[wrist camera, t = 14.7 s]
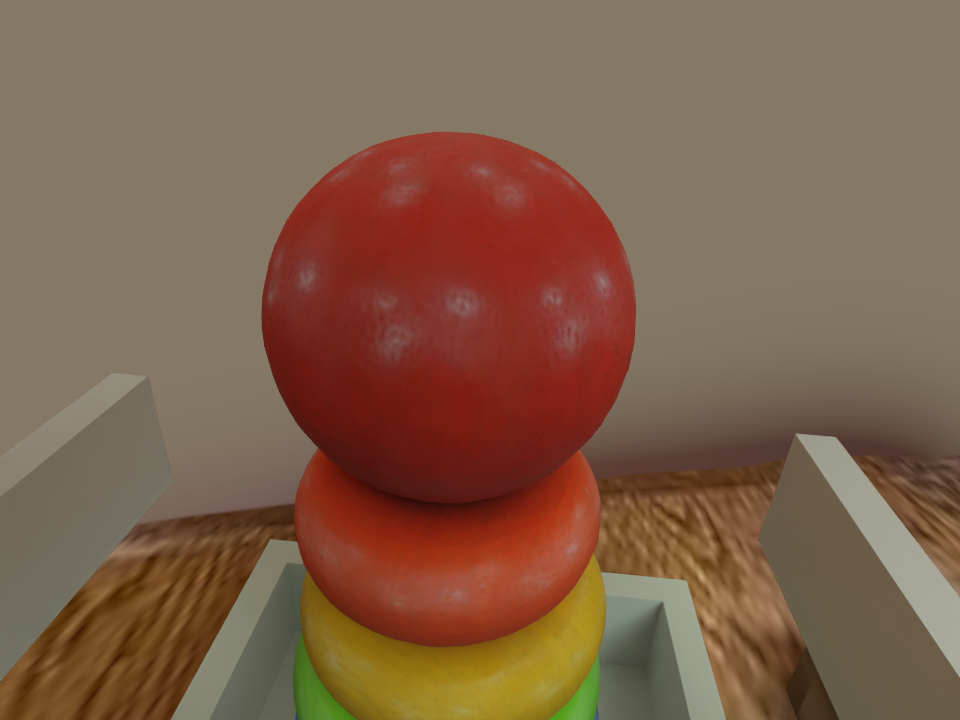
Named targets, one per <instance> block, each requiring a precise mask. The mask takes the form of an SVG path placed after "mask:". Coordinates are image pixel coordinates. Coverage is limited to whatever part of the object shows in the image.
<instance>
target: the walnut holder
mask: <svg viewBox="0 0 960 720" xmlns="http://www.w3.org/2000/svg"><path fill="white" fill-rule="evenodd" d="M787 692H788V694H789V697H790V699H791V702H792V705H793V707H794V710H795V712H796V715H797V717H798V720H839V718H838V716H837V713H836V711H835V709H834V707H833V704H832V702H831V700H830V698H829V696H828V693H827V691H826V689H825V687H824V684H823V682H822V680H821V678H820V676H819V673H818V671H817V669H816V667H815V664H814V662H813V660H812V658H811V656H810V653H809V651H808V649H807V647H805V649H804V651H803V653H802V656H801V658H800V660H799V662H798V665H797V667H796V669H795V671H794V673H793V676H792V678H791V680H790V682H789V685H788V687H787Z"/></svg>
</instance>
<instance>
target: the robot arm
mask: <svg viewBox="0 0 960 720" xmlns="http://www.w3.org/2000/svg"><path fill="white" fill-rule="evenodd" d="M172 482H173V478H172V474H171V470H170V466H169V462H168V458H167V453H166V449H165V445H164V441H163V437H162V432H161V428H160V424H159V420H158V415H157V412H156V407H155V403H154V399H153V395H152V390H151V387H150V382H149V378H148V376H140V375H129V374H117V373H112V374H111V375H110V376H108V377H107V378H105V379H104V380H103V381H102V382H100V383H99V384H97V385H96V386H95V387H93V388H92V389H91V390H89V391H88V392H87V393H85V394H84V395H83V396H81V397H80V398H79V399H77V400H76V401H75V402H73V403H72V404H71V405H69V406H68V407H67V408H65V409H64V410H62V411H61V412H60V413H58V414H57V415H56V416H54V417H53V418H52V419H50V420H49V421H47V422H46V423H45V424H43V425H42V426H41V427H40V428H38V429H37V430H35V431H34V432H33V433H32V434H30V435H29V436H27V437H26V438H25V439H23V440H22V441H21V442H19V443H18V444H16V445H15V446H14V447H12V448H11V449H10V450H8V451H7V452H6V453H5V454H3V455H2V456H0V681H1V680H2V679H3V678H4V677H5V675H6V674H7V673H8V672H9V671H10V670H11V668H12V667H13V666H14V665H15V664H16V663H17V662H18V660H19V659H20V658H21V657H22V656H23V655H24V653H25V652H26V651H27V650H28V649H29V648H30V647H31V645H32V644H33V643H34V642H35V641H36V640H37V638H38V637H39V636H40V635H41V634H42V633H43V631H44V630H45V629H46V628H47V627H48V626H49V625H50V623H51V622H52V621H53V620H54V619H55V618H56V616H57V615H58V614H59V613H60V612H61V611H62V609H63V608H64V607H65V606H66V605H67V604H68V603H69V601H70V600H71V599H72V598H73V597H74V596H75V594H76V593H77V592H78V591H79V590H80V589H81V587H82V586H83V585H84V584H85V583H86V582H87V581H88V579H89V578H90V577H91V576H92V575H93V574H94V572H95V571H96V570H97V569H98V568H99V567H100V566H101V564H102V563H103V562H104V561H105V560H106V559H107V557H108V556H109V555H110V554H111V553H112V552H113V550H114V549H115V548H116V547H117V546H118V545H119V544H120V542H121V541H122V540H123V539H124V538H125V537H126V535H127V534H128V533H129V532H130V531H131V530H132V528H133V527H134V526H135V525H136V524H137V523H138V522H139V520H140V519H141V518H142V517H143V516H144V515H145V513H146V512H147V511H148V510H149V508H151V506H152V505H153V504H154V503H155V502H156V501H157V499H158V498H159V497H160V496H161V495H162V494H163V493H164V491H165V490H166V489H167V488H168V487H169V486H170V484H171V483H172ZM758 540H759V542H760V544H761V547H762V549H763V551H764V553H765V555H766V558H767V560H768V562H769V564H770V567H771V569H772V571H773V573H774V575H775V578H776V580H777V582H778V584H779V587H780V589H781V591H782V593H783V595H784V598H785V600H786V602H787V604H788V607H789V609H790V611H791V613H792V615H793V618H794V620H795V622H796V624H797V627H798V629H799V631H800V633H801V636H802V638H803V640H804V642H805V644H806V647H807V649H808V651H809V653H810V656H811V658H812V660H813V662H814V664H815V667H816V669H817V671H818V673H819V676H820V678H821V680H822V682H823V684H824V687H825V689H826V691H827V693H828V696H829V698H830V700H831V702H832V704H833V707H834V709H835V711H836V713H837V716H838V718H839V720H960V597H959V596H958V594H957V593H956V592H955V591H954V589H953V588H952V587H951V585H950V584H949V583H948V582H947V580H946V579H945V578H944V576H943V575H942V574H941V572H940V571H939V570H938V569H937V567H936V566H935V565H934V563H933V562H932V561H931V560H930V558H929V557H928V556H927V554H926V553H925V552H924V550H923V549H922V548H921V547H920V545H919V544H918V543H917V541H916V540H915V539H914V538H913V536H912V535H911V534H910V532H909V531H908V530H907V529H906V527H905V526H904V525H903V523H902V522H901V521H900V519H899V518H898V517H897V516H896V514H895V513H894V512H893V510H892V509H891V508H890V507H889V505H888V504H887V503H886V501H885V500H884V499H883V497H882V496H881V495H880V494H879V492H878V491H877V490H876V488H875V487H874V486H873V485H872V483H871V482H870V481H869V479H868V478H867V477H866V475H865V474H864V473H863V472H862V470H861V469H860V468H859V466H858V465H857V464H856V463H855V461H854V460H853V459H852V457H851V456H850V455H849V454H848V453H847V451H846V450H845V448H844V447H843V446H842V445H841V443H840V442H839V441H838V439H837V438H836V437H827V436H817V435H806V434H805V435H804V434H795V436H794V439H793V442H792V445H791V448H790V450H789V453H788V456H787V459H786V462H785V465H784V468H783V470H782V473H781V476H780V479H779V482H778V485H777V488H776V490H775V493H774V496H773V499H772V502H771V505H770V507H769V510H768V513H767V516H766V519H765V522H764V525H763V527H762V530H761V533H760V536H759V539H758Z"/></svg>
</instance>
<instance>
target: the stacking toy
mask: <svg viewBox="0 0 960 720" xmlns="http://www.w3.org/2000/svg"><path fill="white" fill-rule="evenodd" d="M635 318H636V299H635V291H634V283H633V278H632V274H631V269H630V265H629V262H628V259H627V256H626V253H625V250H624V248H623V245H622V243H621V241H620V239H619V237H618V235H617V233H616V231H615V229H614V227H613V225H612V223H611V221H610V220H609V219H608V217H607V216H606V214H605V213H604V211H603V210H602V209H601V207H600V206H599V204H598V203H597V202H596V201H595V200H594V198H593V197H592V196H591V195H590V194H589V192H588V191H587V190H586V189H585V188H584V187H583V186H582V185H581V184H580V183H579V182H578V181H577V180H576V179H574V178H573V177H572V176H571V175H570V174H569V173H568V172H566V171H565V170H564V169H562V168H561V167H560V166H559V165H558V164H556V163H555V162H553V161H551V160H549V159H548V158H546V157H544V156H542V155H541V154H539V153H537V152H535V151H533V150H530V149H527V148H525V147H522V146H520V145H517V144H515V143H512V142H509V141H507V140H503V139H498V138H494V137H490V136H485V135H479V134H473V133H458V132H432V133H424V134H417V135H411V136H405V137H400V138H396V139H392V140H389V141H385V142H383V143H379V144H376V145H373V146H371V147H369V148H367V149H365V150H363V151H361V152H359V153H357V154H355V155H353V156H351V157H350V158H349V159H347V160H345V161H344V162H343V163H341V164H339V165H338V166H337V167H335V168H334V169H332V170H331V171H330V172H329V173H327V174H326V175H325V176H324V177H323V178H322V179H321V180H320V181H319V182H318V183H317V184H316V185H315V186H314V187H313V188H312V189H311V190H310V191H309V192H308V193H307V194H306V196H305V197H304V198H303V199H302V200H301V201H300V202H299V203H298V204H297V206H296V207H295V209H294V210H293V212H292V213H291V215H290V216H289V218H288V219H287V221H286V223H285V225H284V227H283V229H282V231H281V233H280V235H279V237H278V240H277V242H276V244H275V246H274V249H273V252H272V255H271V258H270V261H269V265H268V271H267V275H266V280H265V285H264V289H263V296H262V333H263V340H264V347H265V350H266V353H267V357H268V360H269V363H270V367H271V371H272V374H273V377H274V379H275V382H276V384H277V387H278V390H279V392H280V394H281V396H282V398H283V400H284V402H285V404H286V406H287V407H288V409H289V411H290V413H291V414H292V416H293V418H294V419H295V421H296V422H297V424H298V425H299V427H300V428H301V429H302V430H303V431H304V433H305V434H306V435H307V436H308V437H309V438H310V439H311V440H312V441H313V443H314V444H315V445H316V446H317V447H318V449H317V451H316V453H315V454H314V455H313V457H312V459H311V460H310V462H309V463H308V465H307V467H306V469H305V472H304V474H303V476H302V479H301V481H300V484H299V487H298V490H297V495H296V501H295V509H294V525H295V534H296V539H297V543H298V547H299V551H300V555H301V558H302V561H303V564H304V566H305V568H306V573H305V577H304V581H303V585H302V592H301V600H300V616H301V628H302V631H301V633H300V637H299V640H298V644H297V648H296V653H295V660H294V670H293V693H294V702H295V707H296V717H295V720H599V716H598V708H597V703H598V697H599V689H600V661H599V653H598V651H599V648H600V646H601V643H602V639H603V634H604V629H605V620H606V595H605V588H604V583H603V578H602V574H601V571H600V567H599V564H598V562H597V560H596V557H595V555H594V553H593V552H594V550H595V546H596V543H597V540H598V535H599V528H600V495H599V491H598V487H597V483H596V480H595V478H594V475H593V472H592V469H591V467H590V465H589V464H588V462H587V460H586V458H585V457H584V455H583V453H582V452H581V450H580V448H581V447H582V446H583V445H584V444H585V443H586V442H587V441H588V440H589V439H590V438H591V437H592V436H593V434H594V433H595V432H596V431H597V429H598V428H599V427H600V426H601V424H602V422H603V421H604V419H605V417H606V415H607V414H608V412H609V411H610V409H611V408H612V406H613V404H614V402H615V400H616V398H617V396H618V393H619V391H620V388H621V386H622V383H623V381H624V378H625V376H626V373H627V371H628V369H629V364H630V360H631V355H632V351H633V346H634V337H635Z"/></svg>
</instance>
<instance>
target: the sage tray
mask: <svg viewBox="0 0 960 720" xmlns="http://www.w3.org/2000/svg"><path fill="white" fill-rule="evenodd" d="M305 573H306V568H305V566H304V564H303V561H302V558H301V555H300V551H299V547H298V543H297V542H294V541H284V540H274V539H270V540H269V542H268V544H267V546H266V548H265V550H264V551H263V553H262V555H261V557H260V559H259V560H258V562H257V564H256V566H255V568H254V569H253V571H252V573H251V575H250V577H249V579H248V580H247V582H246V584H245V586H244V588H243V589H242V591H241V593H240V595H239V597H238V598H237V600H236V602H235V604H234V606H233V607H232V609H231V611H230V613H229V615H228V617H227V618H226V620H225V622H224V624H223V626H222V627H221V629H220V631H219V633H218V635H217V636H216V638H215V640H214V642H213V644H212V646H211V647H210V649H209V651H208V653H207V655H206V656H205V658H204V660H203V662H202V664H201V665H200V667H199V669H198V671H197V673H196V675H195V676H194V678H193V680H192V682H191V684H190V685H189V687H188V689H187V691H186V693H185V694H184V696H183V698H182V700H181V702H180V703H179V705H178V707H177V709H176V711H175V713H174V714H173V716H172V718H171V720H295V717H296V707H295V702H294V693H293V670H294V660H295V653H296V648H297V644H298V640H299V637H300V633H301V631H302V628H301V616H300V600H301V592H302V585H303V581H304V577H305ZM601 574H602V578H603V583H604V588H605V595H606V620H605V629H604V634H603V639H602V643H601V646H600V648H599V651H598V653H599V661H600V689H599V697H598V703H597V708H598V716H599V720H726V718H725V714H724V711H723V707H722V704H721V700H720V697H719V693H718V690H717V686H716V683H715V679H714V676H713V672H712V669H711V665H710V662H709V658H708V655H707V651H706V647H705V644H704V640H703V637H702V633H701V630H700V626H699V623H698V619H697V616H696V612H695V609H694V605H693V602H692V598H691V595H690V591H689V588H688V584H687V581H686V580H676V579H666V578H656V577H645V576H635V575H625V574H615V573H605V572H601Z"/></svg>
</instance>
